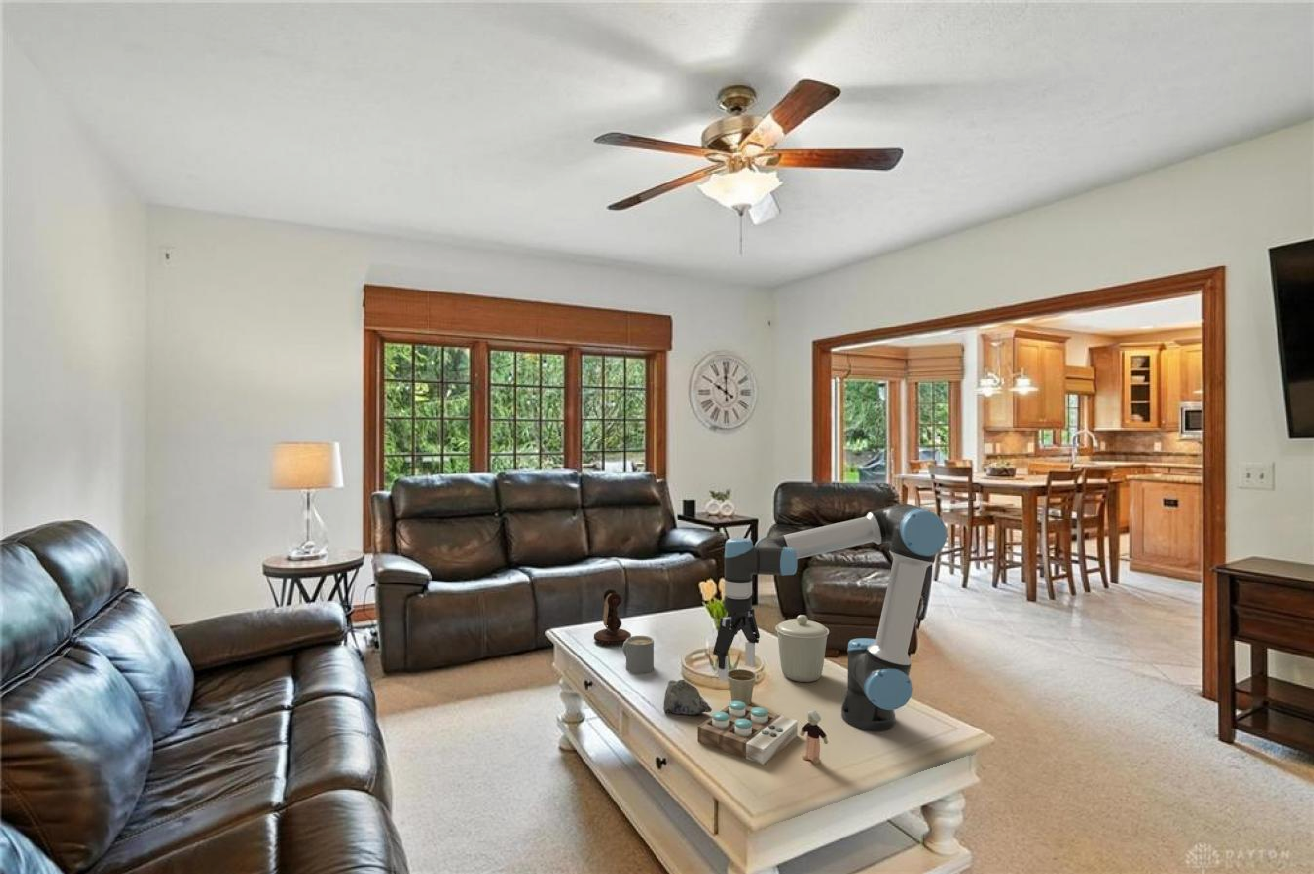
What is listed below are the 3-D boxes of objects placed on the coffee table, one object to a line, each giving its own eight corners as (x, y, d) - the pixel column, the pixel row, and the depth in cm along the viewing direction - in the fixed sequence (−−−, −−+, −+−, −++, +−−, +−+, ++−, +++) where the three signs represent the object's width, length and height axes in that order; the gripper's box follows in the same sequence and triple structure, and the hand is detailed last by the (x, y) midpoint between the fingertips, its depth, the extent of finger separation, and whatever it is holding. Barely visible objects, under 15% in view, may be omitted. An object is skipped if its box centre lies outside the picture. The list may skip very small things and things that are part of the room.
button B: (754, 736, 171) (754, 721, 171) (746, 743, 167) (746, 728, 167) (739, 731, 174) (740, 717, 174) (731, 738, 170) (731, 723, 170)
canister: (811, 664, 230) (812, 606, 229) (839, 684, 212) (839, 621, 212) (766, 669, 225) (766, 610, 225) (790, 689, 207) (790, 625, 207)
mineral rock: (713, 717, 187) (714, 683, 187) (685, 727, 181) (685, 692, 181) (686, 701, 198) (686, 669, 198) (658, 710, 191) (658, 677, 191)
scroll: (590, 637, 259) (590, 588, 258) (625, 633, 263) (625, 585, 263) (598, 649, 244) (598, 597, 244) (635, 645, 249) (635, 594, 249)
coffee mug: (659, 669, 224) (659, 641, 224) (635, 675, 218) (635, 646, 218) (638, 658, 235) (639, 631, 235) (615, 663, 229) (615, 636, 229)
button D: (732, 729, 175) (732, 714, 175) (723, 735, 171) (723, 720, 171) (718, 724, 178) (718, 710, 178) (709, 730, 174) (709, 716, 174)
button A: (770, 724, 178) (770, 710, 178) (762, 730, 174) (762, 716, 174) (755, 719, 181) (755, 705, 181) (747, 725, 177) (747, 711, 177)
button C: (748, 717, 182) (748, 703, 182) (740, 723, 179) (740, 709, 178) (734, 713, 185) (734, 699, 185) (726, 718, 181) (726, 704, 181)
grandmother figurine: (796, 759, 163) (796, 710, 163) (801, 753, 167) (801, 704, 167) (826, 767, 159) (826, 717, 159) (830, 761, 163) (830, 711, 163)
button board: (797, 735, 176) (797, 720, 176) (763, 765, 161) (763, 748, 160) (734, 715, 189) (734, 701, 189) (697, 741, 173) (697, 725, 173)
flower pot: (755, 710, 192) (756, 681, 192) (724, 707, 194) (724, 679, 194) (757, 697, 201) (757, 670, 201) (727, 694, 203) (727, 667, 203)
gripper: (749, 585, 186) (748, 657, 187) (700, 602, 167) (699, 682, 167) (772, 589, 182) (771, 663, 182) (724, 607, 162) (723, 690, 162)
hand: (737, 672), depth 174 cm, fingers open, 13 cm apart
